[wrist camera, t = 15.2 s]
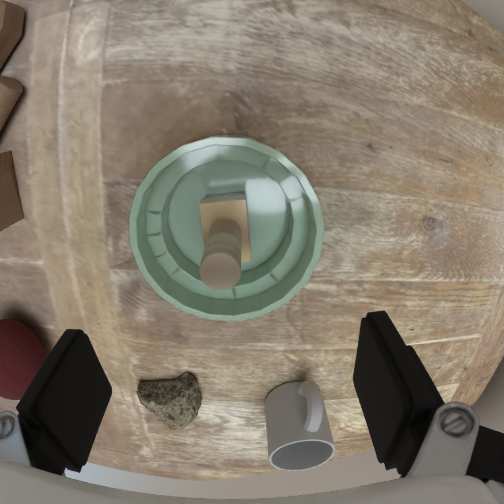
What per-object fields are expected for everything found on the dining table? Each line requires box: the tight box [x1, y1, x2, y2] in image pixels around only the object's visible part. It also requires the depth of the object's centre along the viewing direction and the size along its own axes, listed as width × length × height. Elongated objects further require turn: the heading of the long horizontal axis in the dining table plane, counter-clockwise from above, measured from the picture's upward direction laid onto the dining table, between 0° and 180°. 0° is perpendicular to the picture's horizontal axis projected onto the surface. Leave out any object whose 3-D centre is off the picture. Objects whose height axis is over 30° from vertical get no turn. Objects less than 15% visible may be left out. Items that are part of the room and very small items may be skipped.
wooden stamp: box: [199, 191, 252, 290], centre depth 23 cm, size 5×4×10 cm
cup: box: [265, 380, 335, 471], centre depth 33 cm, size 7×10×9 cm
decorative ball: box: [0, 319, 46, 400], centre depth 29 cm, size 10×10×10 cm
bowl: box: [129, 134, 325, 321], centre depth 25 cm, size 14×14×6 cm
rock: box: [137, 372, 202, 430], centre depth 34 cm, size 7×8×4 cm
